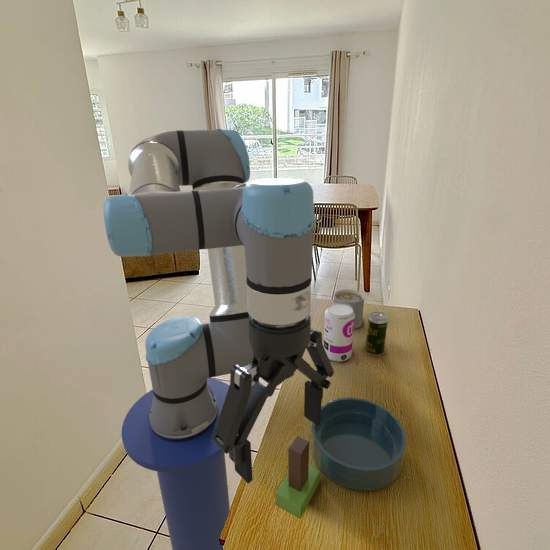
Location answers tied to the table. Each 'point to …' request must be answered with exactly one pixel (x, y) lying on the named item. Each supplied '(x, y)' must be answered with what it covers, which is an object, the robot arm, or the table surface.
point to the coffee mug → (351, 303)
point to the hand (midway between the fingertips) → (280, 445)
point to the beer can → (376, 333)
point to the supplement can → (339, 332)
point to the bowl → (358, 444)
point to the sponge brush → (297, 480)
